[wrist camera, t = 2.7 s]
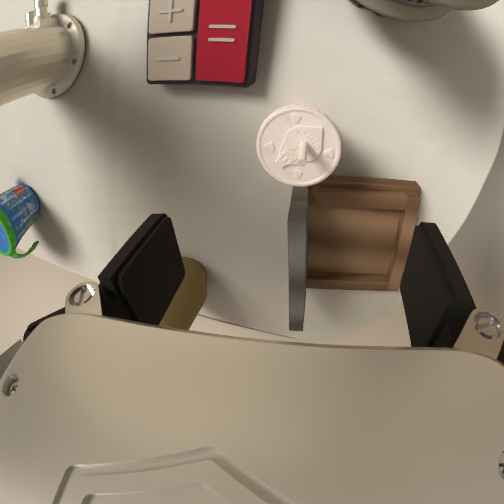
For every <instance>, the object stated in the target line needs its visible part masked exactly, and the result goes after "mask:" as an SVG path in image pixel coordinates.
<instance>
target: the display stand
mask: <svg viewBox="0 0 504 504" xmlns="http://www.w3.org/2000/svg"><path fill="white" fill-rule="evenodd" d="M420 193H421V188H420V187H419V185H418V184H417V182H416V181H406V180H394V179H381V178H366V177H347V176H328V177H327V178H326V179H324V180H323V181H321V182H319V183H317V184H314V185H310V186H293V191H292V197H291V203H290V209H289V215H288V258H289V330H292V331H303V322H304V311H305V299H306V288H317V289H343V290H374V291H398V288H399V285H400V282H401V278H402V275H403V271H404V268H405V264H406V260H407V257H408V253H409V249H410V245H411V241H412V237H413V232H414V228H415V223H416V219H417V214H418V209H419V204H420Z"/></svg>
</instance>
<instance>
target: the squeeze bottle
mask: <svg viewBox="0 0 504 504" xmlns="http://www.w3.org/2000/svg"><path fill="white" fill-rule="evenodd" d="M182 261H183V264H184V268H185V277H184V279H183V281H182V283H181V285H180V287H179V288H178V290H177V292H176V294H175V296H174V298H173V300H172V301H171V303H170V305H169V307H168V309H167V311H166V313H165V315H164V317H163V318H162V320H161V322H160V324H159V326H164V327H170V328H176V329H183V330H189V328H190V326H191V325H192V323H193V321H194V319H195V318H196V316H197V314H198V312H199V311H200V309H201V307H202V305H203V304H204V302H205V299H206V295H207V279H206V273H205V270H204V269H203V267H202V266H201V265H200V264H199V263H198V262H196V261H195V260H193V259H190V258H187V257H182Z"/></svg>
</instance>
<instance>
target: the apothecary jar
mask: <svg viewBox="0 0 504 504" xmlns="http://www.w3.org/2000/svg"><path fill="white" fill-rule="evenodd" d="M350 1H351V2H352V3H353V4H355V5H356V6H358V7H364V8H368V9H370V10H372V11H374V12H375V14H376V15H379V16H383V17H389V18H393V19H397V20H402V21H412V22H420V21H429V20H433V19H436V18H439V17H441V16H443V15H445V14H446V13H447V12H449V11H450V10H451V9H456V10H478V9H483V8H486V7H489V6H491V5H493V4H494V3H496V2H497V1H499V0H350Z"/></svg>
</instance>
